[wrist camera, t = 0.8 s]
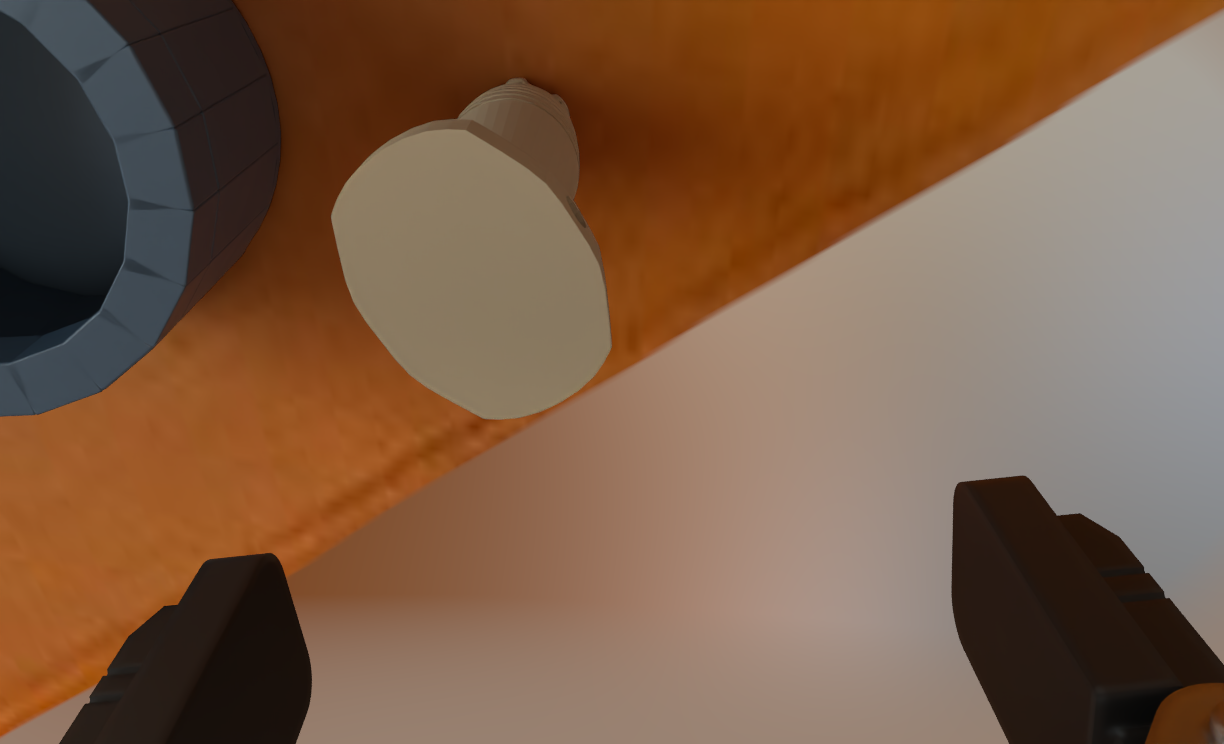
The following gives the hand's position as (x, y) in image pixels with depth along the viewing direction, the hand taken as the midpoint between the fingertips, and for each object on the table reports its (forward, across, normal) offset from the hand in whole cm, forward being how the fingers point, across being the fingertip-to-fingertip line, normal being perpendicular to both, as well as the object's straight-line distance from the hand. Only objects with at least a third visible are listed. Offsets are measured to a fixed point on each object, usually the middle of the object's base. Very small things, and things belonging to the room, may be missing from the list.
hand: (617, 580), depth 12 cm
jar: (+25, +18, -3) cm, 31 cm away
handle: (+25, +3, -1) cm, 25 cm away
